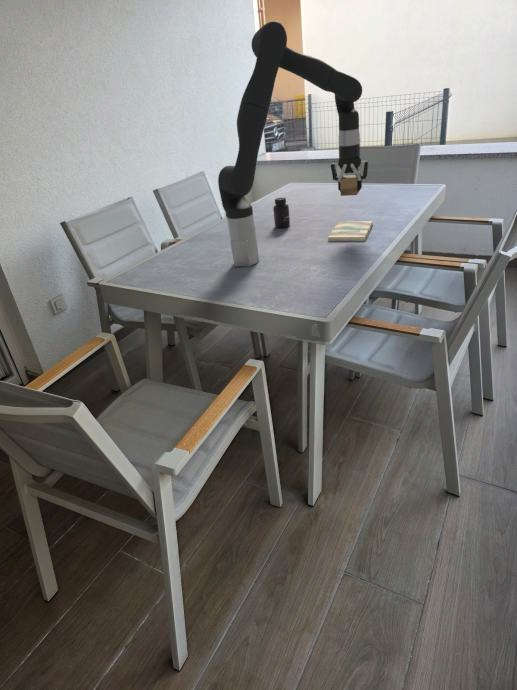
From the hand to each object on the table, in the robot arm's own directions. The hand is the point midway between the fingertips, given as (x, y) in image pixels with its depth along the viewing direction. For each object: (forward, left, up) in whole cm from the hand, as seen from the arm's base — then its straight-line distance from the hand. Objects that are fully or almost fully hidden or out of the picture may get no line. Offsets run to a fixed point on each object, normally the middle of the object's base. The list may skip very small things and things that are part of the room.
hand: (350, 190), depth 168 cm
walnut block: (0, 0, -1) cm, 1 cm away
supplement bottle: (+10, +32, -16) cm, 37 cm away
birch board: (0, 0, -16) cm, 16 cm away
